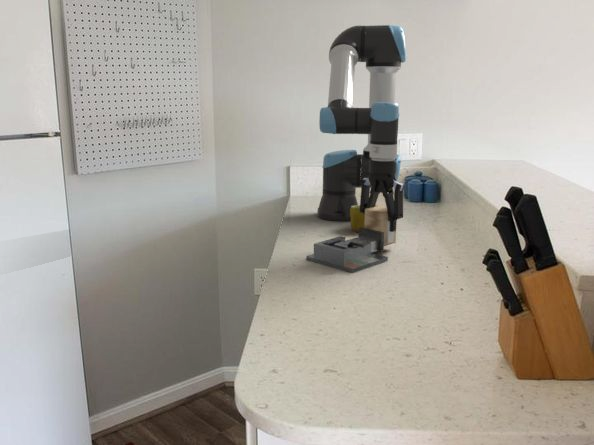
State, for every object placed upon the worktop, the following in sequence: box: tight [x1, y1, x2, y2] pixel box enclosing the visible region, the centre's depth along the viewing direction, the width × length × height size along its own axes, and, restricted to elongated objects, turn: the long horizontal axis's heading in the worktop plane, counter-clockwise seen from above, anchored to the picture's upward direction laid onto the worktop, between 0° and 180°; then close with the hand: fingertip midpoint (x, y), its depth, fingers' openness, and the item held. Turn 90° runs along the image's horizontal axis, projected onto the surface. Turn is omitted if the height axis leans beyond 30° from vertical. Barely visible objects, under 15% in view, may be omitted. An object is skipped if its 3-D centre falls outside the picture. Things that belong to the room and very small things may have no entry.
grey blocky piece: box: [333, 227, 385, 253], centre depth 160 cm, size 11×13×5 cm
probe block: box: [364, 205, 397, 247], centre depth 167 cm, size 6×7×10 cm
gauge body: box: [305, 236, 389, 274], centre depth 159 cm, size 16×15×5 cm
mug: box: [350, 204, 378, 233], centre depth 191 cm, size 12×10×10 cm
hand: (379, 239), depth 168 cm, fingers closed on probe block, 6 cm apart
